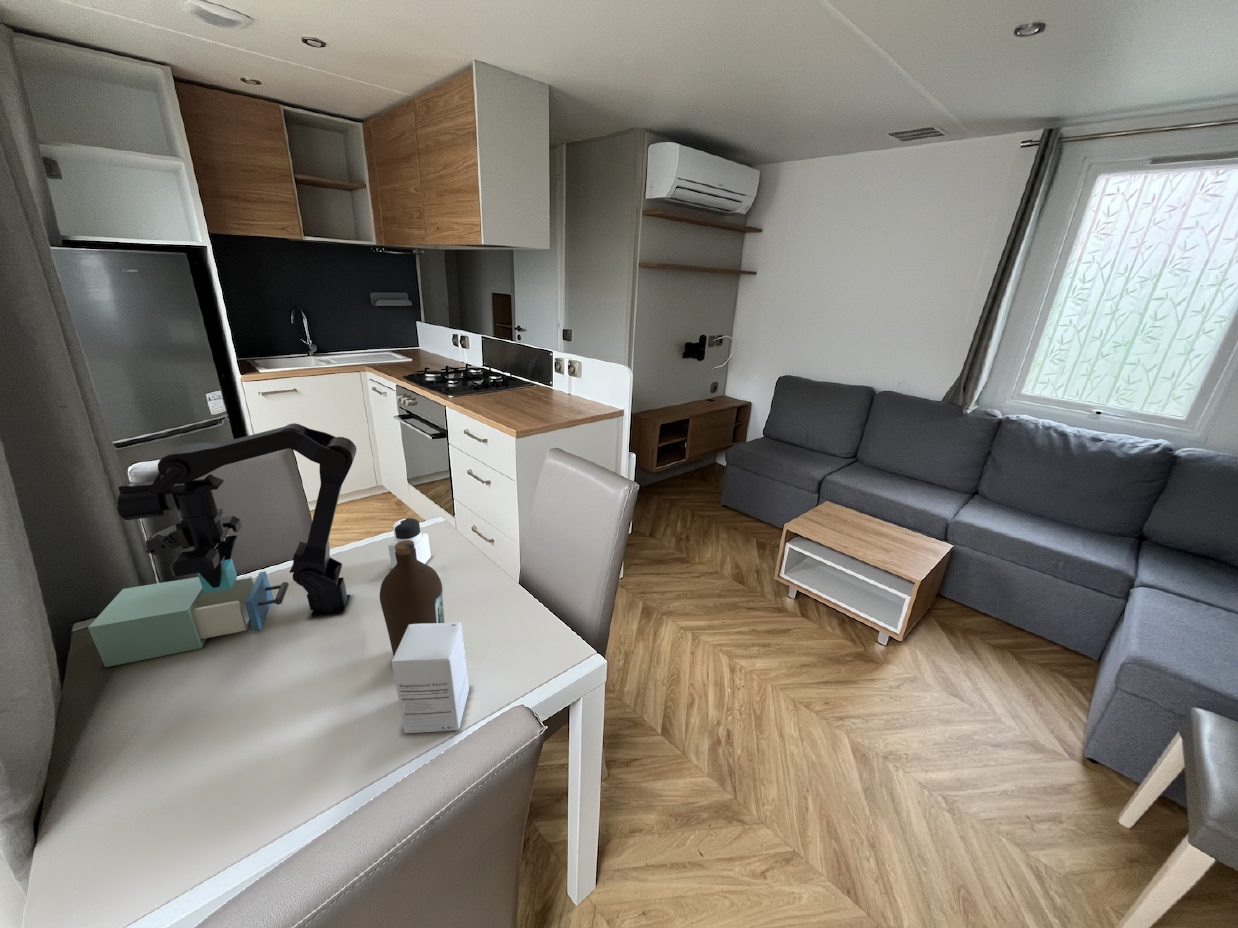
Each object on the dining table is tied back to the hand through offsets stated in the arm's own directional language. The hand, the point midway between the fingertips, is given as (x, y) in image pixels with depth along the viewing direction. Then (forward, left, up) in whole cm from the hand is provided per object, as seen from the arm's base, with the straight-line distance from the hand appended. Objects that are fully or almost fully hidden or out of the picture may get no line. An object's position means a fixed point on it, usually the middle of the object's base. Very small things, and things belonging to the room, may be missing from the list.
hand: (220, 580), depth 100 cm
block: (0, 0, -1) cm, 1 cm away
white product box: (-43, +33, -11) cm, 55 cm away
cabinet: (+11, +1, -11) cm, 16 cm away
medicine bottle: (-33, -17, -11) cm, 39 cm away
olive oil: (-39, +19, -11) cm, 45 cm away
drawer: (-1, 0, -10) cm, 10 cm away
